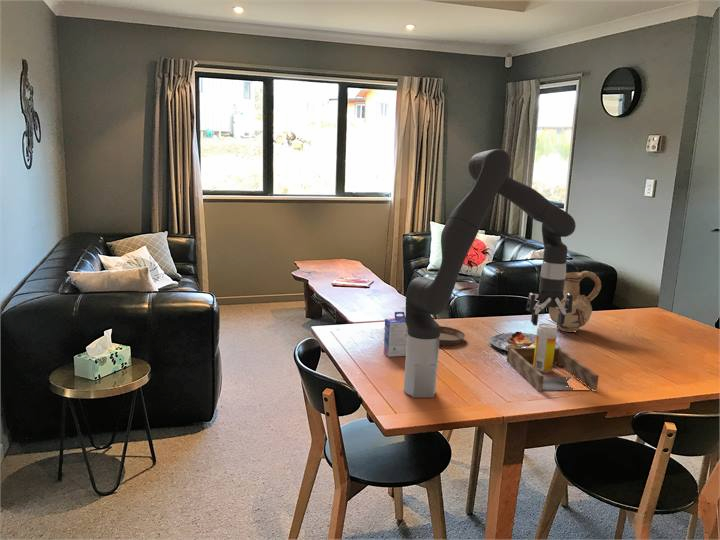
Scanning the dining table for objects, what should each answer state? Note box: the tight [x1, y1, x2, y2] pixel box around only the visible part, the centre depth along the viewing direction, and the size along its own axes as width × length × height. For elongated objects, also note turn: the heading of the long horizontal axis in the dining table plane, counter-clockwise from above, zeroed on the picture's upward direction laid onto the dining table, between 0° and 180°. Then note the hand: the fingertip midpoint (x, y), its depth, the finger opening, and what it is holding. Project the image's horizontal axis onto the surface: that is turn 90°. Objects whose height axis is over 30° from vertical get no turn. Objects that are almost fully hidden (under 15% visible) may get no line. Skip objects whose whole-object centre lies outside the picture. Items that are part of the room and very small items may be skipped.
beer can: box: [532, 323, 558, 374], centre depth 189 cm, size 6×6×15 cm
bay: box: [506, 347, 600, 393], centre depth 185 cm, size 25×18×5 cm
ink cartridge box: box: [383, 311, 408, 358], centre depth 198 cm, size 10×6×14 cm, turn 109°
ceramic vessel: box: [548, 270, 602, 333], centre depth 235 cm, size 18×19×25 cm
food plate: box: [488, 331, 561, 352], centre depth 212 cm, size 25×23×4 cm
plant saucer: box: [439, 325, 466, 347], centre depth 217 cm, size 18×18×3 cm
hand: (547, 325), depth 188 cm, fingers open, 8 cm apart
